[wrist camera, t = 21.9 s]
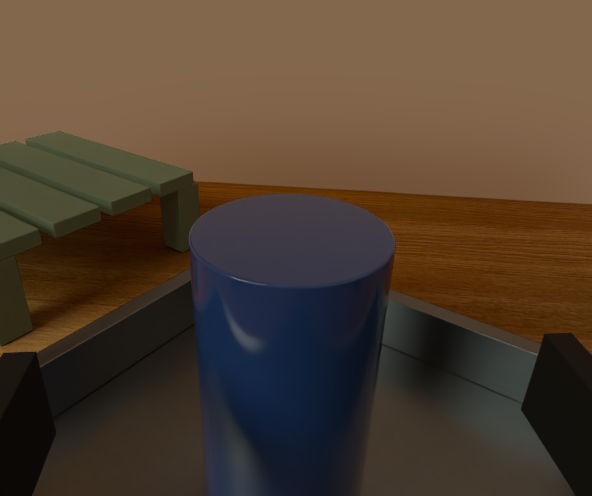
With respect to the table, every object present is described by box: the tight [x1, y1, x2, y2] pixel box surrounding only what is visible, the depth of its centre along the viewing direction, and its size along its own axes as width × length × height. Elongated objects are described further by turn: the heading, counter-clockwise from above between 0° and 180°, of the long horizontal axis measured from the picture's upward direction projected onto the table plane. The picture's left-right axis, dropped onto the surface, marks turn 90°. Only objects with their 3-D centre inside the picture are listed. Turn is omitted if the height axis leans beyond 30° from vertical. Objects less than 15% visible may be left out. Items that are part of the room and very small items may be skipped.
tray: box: [32, 268, 575, 496], centre depth 21 cm, size 22×22×4 cm
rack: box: [0, 131, 200, 346], centre depth 38 cm, size 16×16×6 cm
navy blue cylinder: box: [188, 194, 396, 496], centre depth 19 cm, size 6×6×11 cm
